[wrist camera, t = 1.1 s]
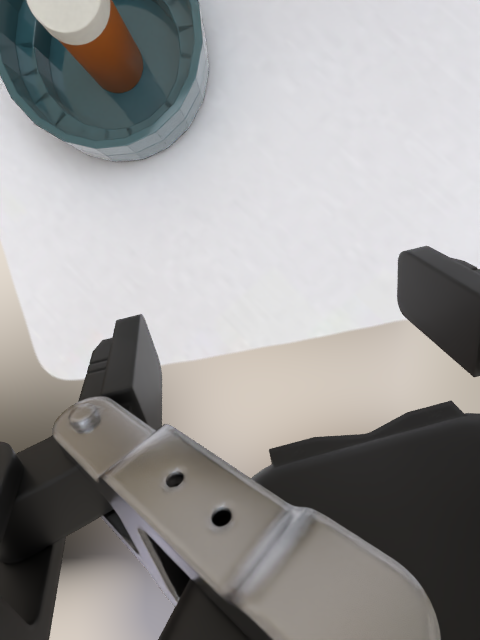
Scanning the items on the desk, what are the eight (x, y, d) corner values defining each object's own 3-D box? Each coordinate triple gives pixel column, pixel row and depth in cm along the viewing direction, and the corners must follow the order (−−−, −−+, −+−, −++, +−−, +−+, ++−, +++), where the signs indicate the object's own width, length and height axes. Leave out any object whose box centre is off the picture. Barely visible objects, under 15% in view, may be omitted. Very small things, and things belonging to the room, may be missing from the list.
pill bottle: (94, 27, 32) (28, -66, 23) (149, 41, 33) (107, -47, 23) (85, 87, 33) (18, 22, 23) (139, 100, 33) (95, 41, 24)
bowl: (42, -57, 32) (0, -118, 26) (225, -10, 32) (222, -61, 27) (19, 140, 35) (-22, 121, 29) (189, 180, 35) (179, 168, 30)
